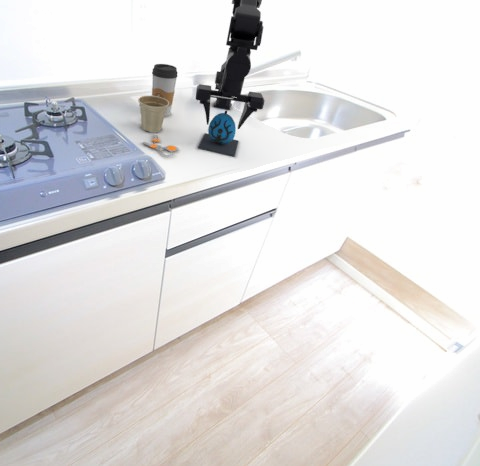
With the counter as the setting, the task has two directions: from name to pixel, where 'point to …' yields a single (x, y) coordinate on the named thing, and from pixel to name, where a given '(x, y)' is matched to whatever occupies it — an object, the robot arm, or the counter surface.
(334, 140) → the counter surface
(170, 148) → the key chain
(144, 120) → the flower pot
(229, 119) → the ornament
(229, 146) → the mat
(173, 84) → the coffee cup
